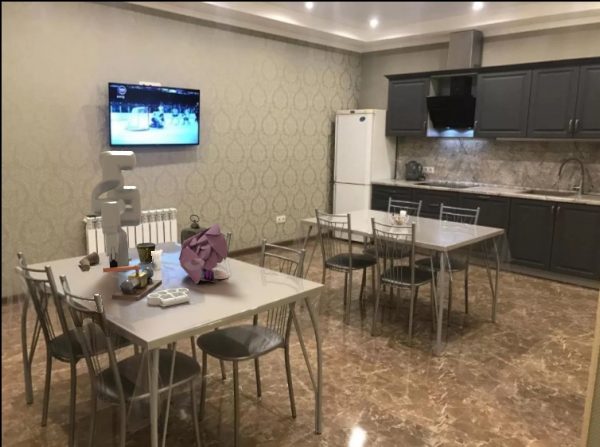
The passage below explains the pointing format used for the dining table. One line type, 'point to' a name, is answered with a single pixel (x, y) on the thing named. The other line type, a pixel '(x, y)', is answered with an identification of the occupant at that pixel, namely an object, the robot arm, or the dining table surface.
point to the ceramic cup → (145, 252)
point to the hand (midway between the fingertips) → (113, 270)
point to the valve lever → (121, 268)
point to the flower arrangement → (204, 255)
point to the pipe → (89, 260)
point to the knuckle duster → (169, 297)
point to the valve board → (138, 291)
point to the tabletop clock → (191, 230)
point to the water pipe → (136, 281)
